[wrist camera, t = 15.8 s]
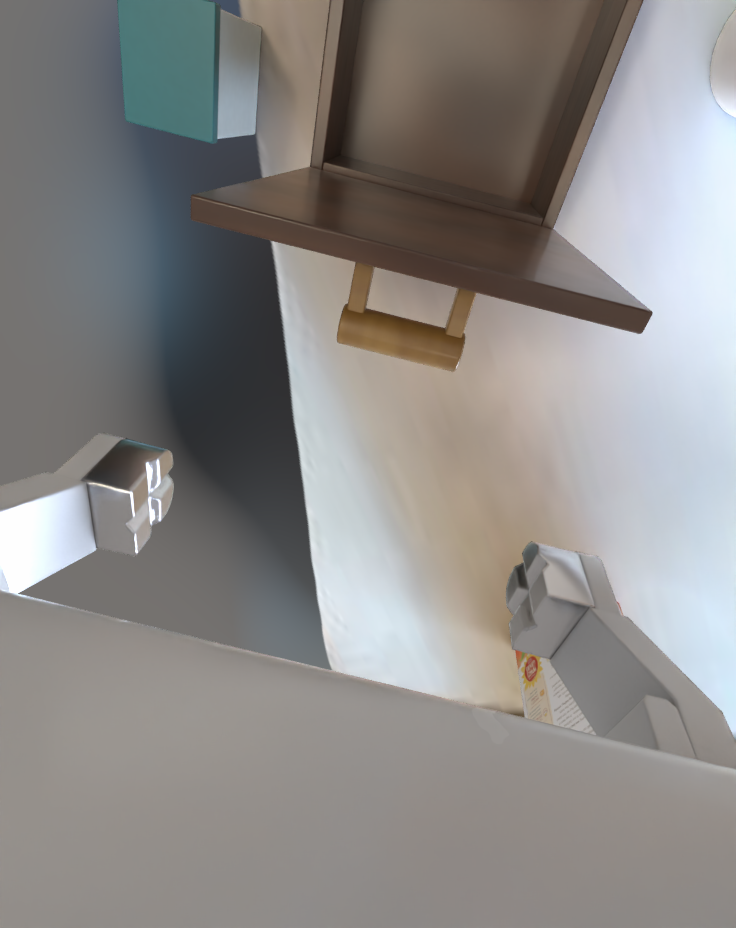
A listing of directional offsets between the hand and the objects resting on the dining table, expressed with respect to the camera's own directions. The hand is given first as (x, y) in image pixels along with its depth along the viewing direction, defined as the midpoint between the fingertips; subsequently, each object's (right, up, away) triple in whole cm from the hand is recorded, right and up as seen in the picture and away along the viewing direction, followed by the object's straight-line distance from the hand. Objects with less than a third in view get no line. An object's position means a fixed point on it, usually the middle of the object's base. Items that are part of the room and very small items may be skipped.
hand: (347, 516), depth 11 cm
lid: (+3, +13, +12) cm, 18 cm away
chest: (+7, +28, +21) cm, 35 cm away
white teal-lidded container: (-10, +28, +23) cm, 38 cm away
